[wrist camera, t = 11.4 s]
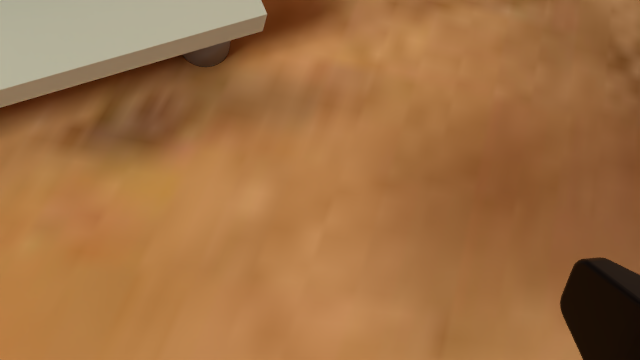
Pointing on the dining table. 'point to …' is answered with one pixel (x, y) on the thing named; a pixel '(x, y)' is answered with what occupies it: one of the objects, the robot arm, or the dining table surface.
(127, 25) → the shelf
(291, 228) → the dining table surface
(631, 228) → the dining table surface
